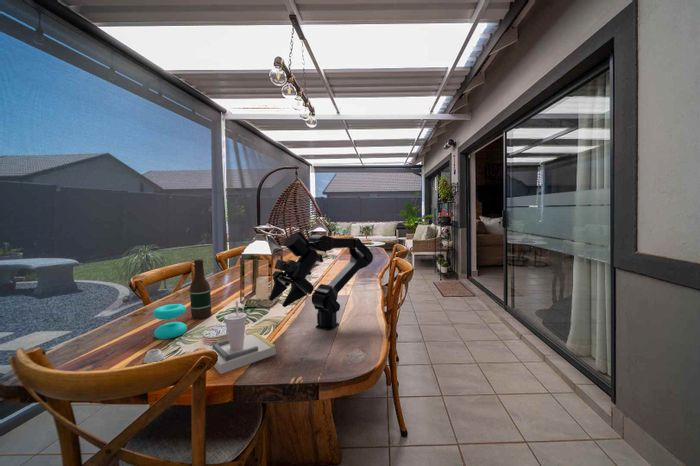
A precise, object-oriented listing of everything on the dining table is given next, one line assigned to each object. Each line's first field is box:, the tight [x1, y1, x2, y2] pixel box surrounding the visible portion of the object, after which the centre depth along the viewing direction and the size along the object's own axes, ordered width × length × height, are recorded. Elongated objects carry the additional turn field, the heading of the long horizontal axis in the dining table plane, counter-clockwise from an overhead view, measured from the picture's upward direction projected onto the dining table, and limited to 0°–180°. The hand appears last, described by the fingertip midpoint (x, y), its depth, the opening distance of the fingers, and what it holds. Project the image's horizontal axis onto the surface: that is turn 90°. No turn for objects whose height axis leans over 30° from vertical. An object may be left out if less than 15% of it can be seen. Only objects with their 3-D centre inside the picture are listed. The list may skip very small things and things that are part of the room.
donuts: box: [152, 303, 188, 340], centre depth 105 cm, size 10×10×10 cm
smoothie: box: [223, 300, 248, 350], centre depth 88 cm, size 6×6×14 cm
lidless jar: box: [143, 348, 165, 364], centre depth 87 cm, size 5×3×5 cm
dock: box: [204, 332, 277, 375], centre depth 89 cm, size 16×14×4 cm
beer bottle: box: [189, 259, 212, 320], centre depth 123 cm, size 8×8×24 cm
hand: (276, 303), depth 95 cm, fingers open, 9 cm apart
